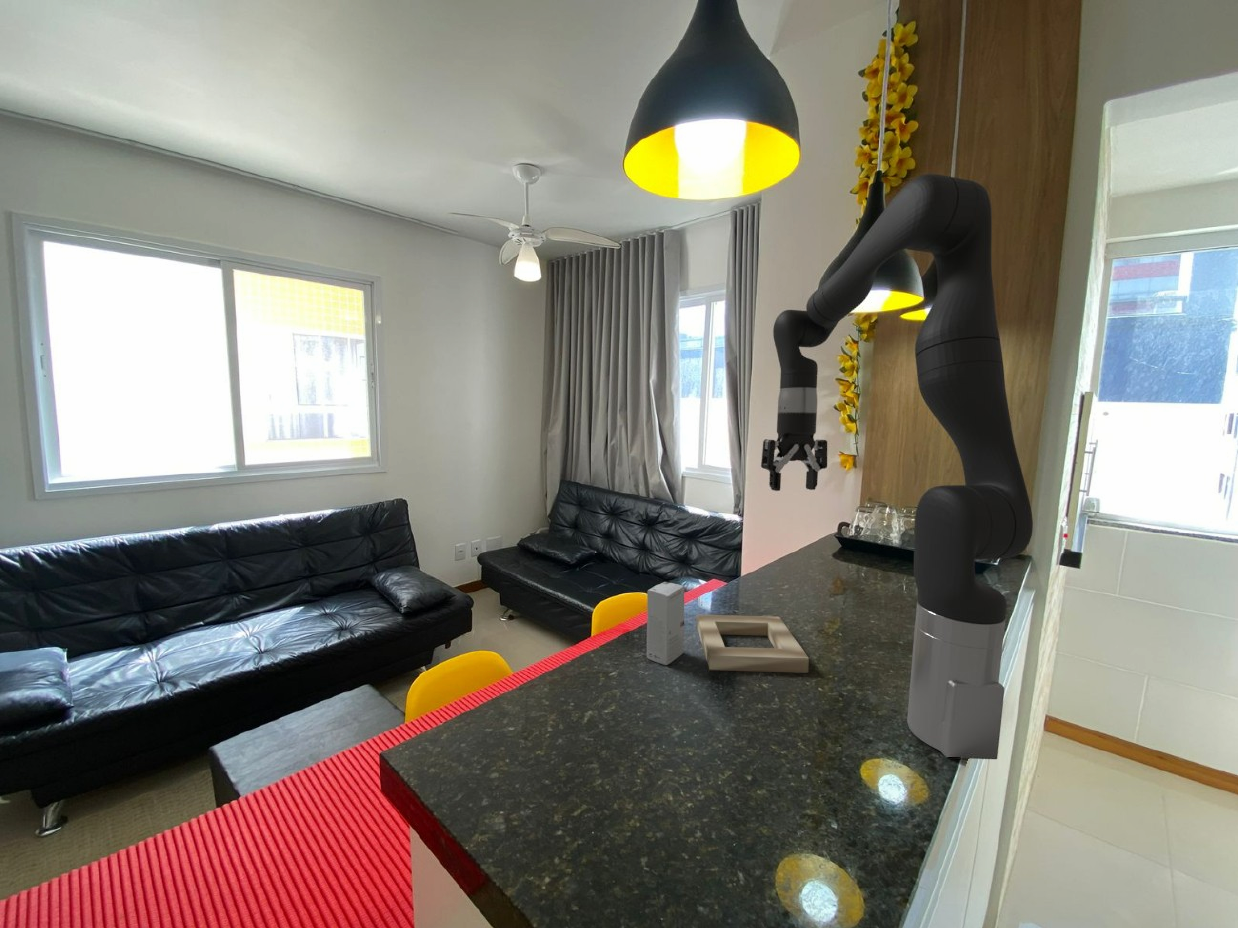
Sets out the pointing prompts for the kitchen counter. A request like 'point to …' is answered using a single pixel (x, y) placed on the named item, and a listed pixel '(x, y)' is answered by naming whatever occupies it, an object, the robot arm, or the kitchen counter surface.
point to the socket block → (750, 659)
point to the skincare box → (665, 622)
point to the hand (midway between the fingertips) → (793, 489)
